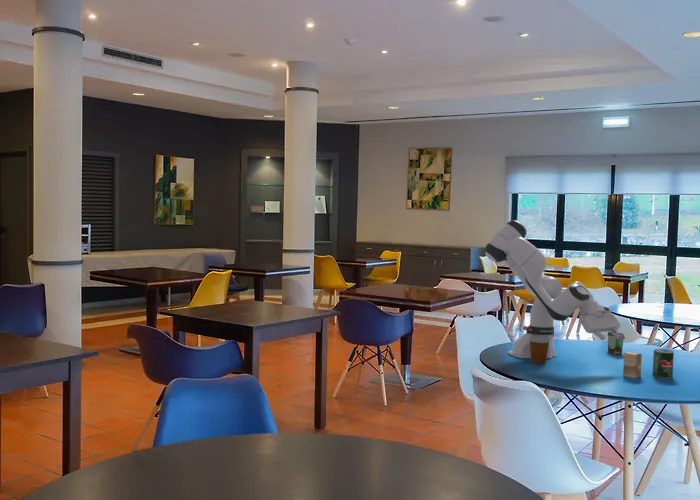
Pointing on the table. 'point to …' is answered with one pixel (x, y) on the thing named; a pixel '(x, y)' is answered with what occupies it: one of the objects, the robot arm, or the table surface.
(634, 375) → the oak block
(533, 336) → the disposable coffee cup
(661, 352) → the canned tomato
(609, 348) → the food container
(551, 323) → the robot arm
